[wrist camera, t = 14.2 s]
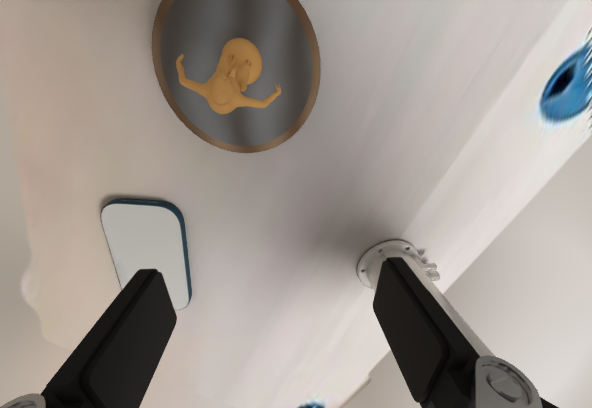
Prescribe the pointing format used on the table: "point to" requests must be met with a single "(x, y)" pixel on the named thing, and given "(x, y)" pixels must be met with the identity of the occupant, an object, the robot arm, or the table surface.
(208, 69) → the walnut stand
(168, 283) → the external hard drive
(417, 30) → the table surface
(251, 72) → the figurine
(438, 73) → the table surface
